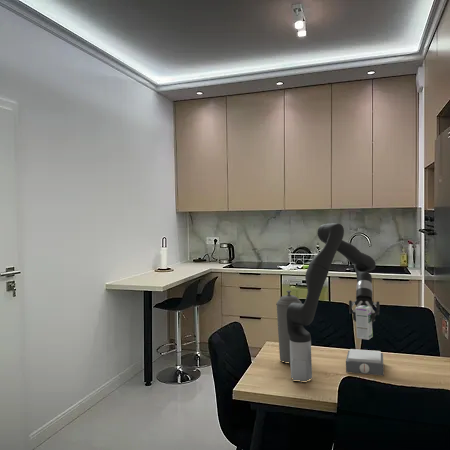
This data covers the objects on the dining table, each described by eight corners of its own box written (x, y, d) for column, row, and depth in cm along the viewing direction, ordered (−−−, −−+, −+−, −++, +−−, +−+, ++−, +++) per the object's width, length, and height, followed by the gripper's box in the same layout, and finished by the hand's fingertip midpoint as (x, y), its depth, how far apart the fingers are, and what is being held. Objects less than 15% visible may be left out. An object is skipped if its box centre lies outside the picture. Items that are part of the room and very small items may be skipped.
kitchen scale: (383, 376, 185) (383, 362, 185) (345, 372, 190) (345, 359, 190) (383, 363, 201) (382, 350, 201) (348, 360, 206) (348, 348, 206)
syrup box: (368, 340, 192) (368, 308, 191) (356, 338, 195) (355, 306, 195) (373, 337, 196) (372, 306, 196) (360, 335, 200) (359, 304, 200)
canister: (273, 359, 212) (271, 290, 212) (294, 355, 217) (292, 287, 217) (287, 367, 200) (284, 293, 200) (309, 362, 206) (306, 291, 205)
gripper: (348, 286, 205) (347, 316, 194) (379, 287, 200) (380, 317, 189) (349, 295, 210) (348, 324, 199) (380, 296, 205) (380, 326, 194)
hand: (363, 321), depth 194 cm, fingers closed on syrup box, 7 cm apart
